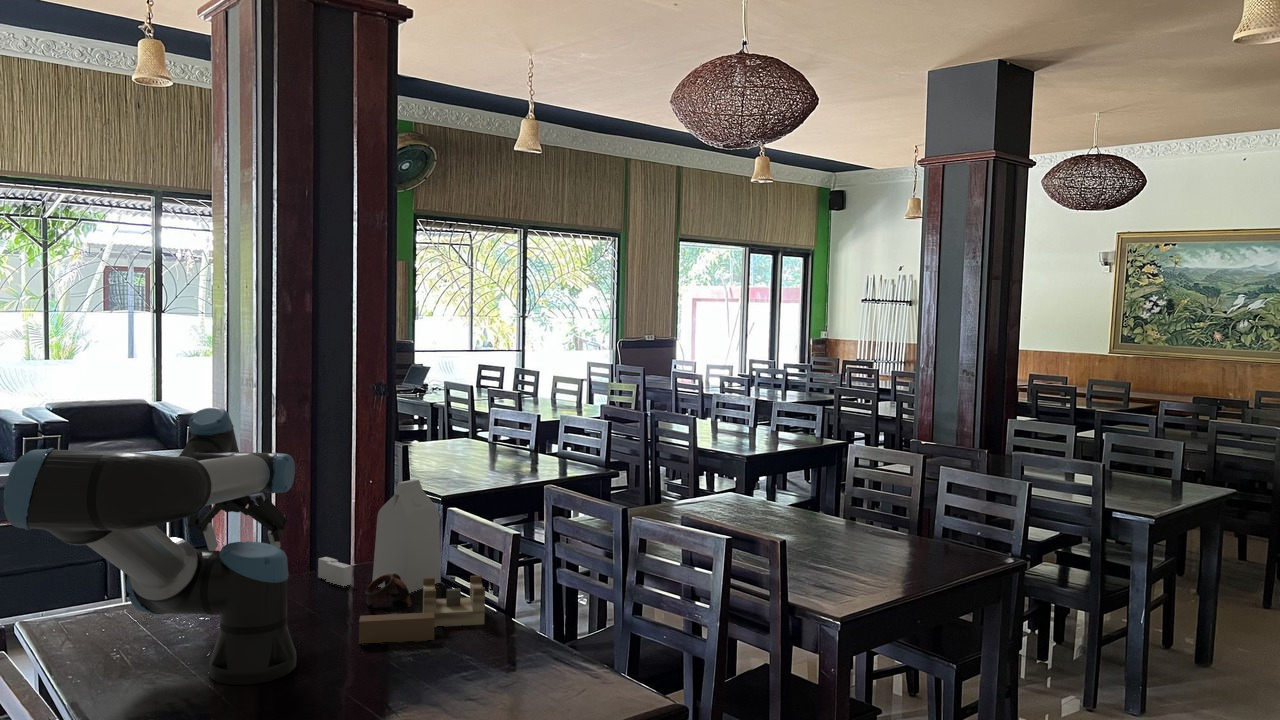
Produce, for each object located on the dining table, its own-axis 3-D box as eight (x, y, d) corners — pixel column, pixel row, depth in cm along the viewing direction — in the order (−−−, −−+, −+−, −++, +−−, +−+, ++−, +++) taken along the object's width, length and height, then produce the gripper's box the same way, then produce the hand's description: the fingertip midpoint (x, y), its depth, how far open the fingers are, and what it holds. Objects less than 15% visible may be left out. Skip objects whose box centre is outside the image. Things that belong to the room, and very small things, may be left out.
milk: (407, 575, 234) (409, 475, 233) (440, 583, 229) (442, 480, 227) (371, 586, 224) (373, 481, 223) (405, 594, 218) (407, 487, 217)
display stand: (484, 624, 200) (485, 588, 199) (423, 627, 196) (424, 591, 196) (480, 609, 209) (481, 575, 209) (422, 612, 206) (423, 577, 206)
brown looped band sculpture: (412, 614, 206) (394, 585, 204) (374, 630, 207) (356, 602, 204) (418, 585, 218) (402, 558, 215) (383, 601, 218) (366, 574, 215)
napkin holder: (359, 590, 222) (359, 566, 222) (309, 592, 219) (310, 569, 219) (358, 572, 237) (359, 551, 236) (312, 575, 233) (312, 553, 233)
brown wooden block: (434, 641, 189) (434, 617, 189) (358, 645, 185) (359, 621, 185) (433, 635, 193) (434, 612, 192) (359, 639, 189) (360, 615, 189)
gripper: (291, 465, 190) (308, 538, 202) (171, 462, 189) (194, 536, 201) (280, 488, 184) (297, 563, 195) (155, 485, 183) (180, 561, 195)
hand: (245, 550), depth 198 cm, fingers open, 13 cm apart
